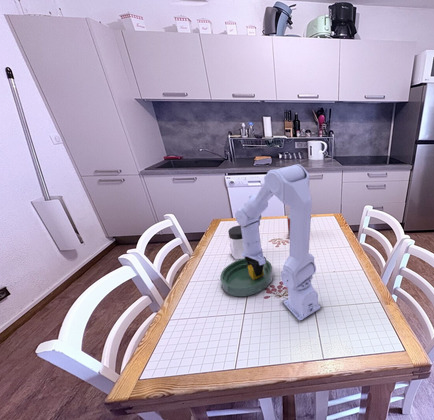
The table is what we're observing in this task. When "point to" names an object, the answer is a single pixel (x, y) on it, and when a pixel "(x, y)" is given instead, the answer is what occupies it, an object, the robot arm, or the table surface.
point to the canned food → (288, 224)
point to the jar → (236, 242)
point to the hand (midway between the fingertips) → (256, 272)
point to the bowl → (244, 279)
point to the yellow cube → (251, 272)
